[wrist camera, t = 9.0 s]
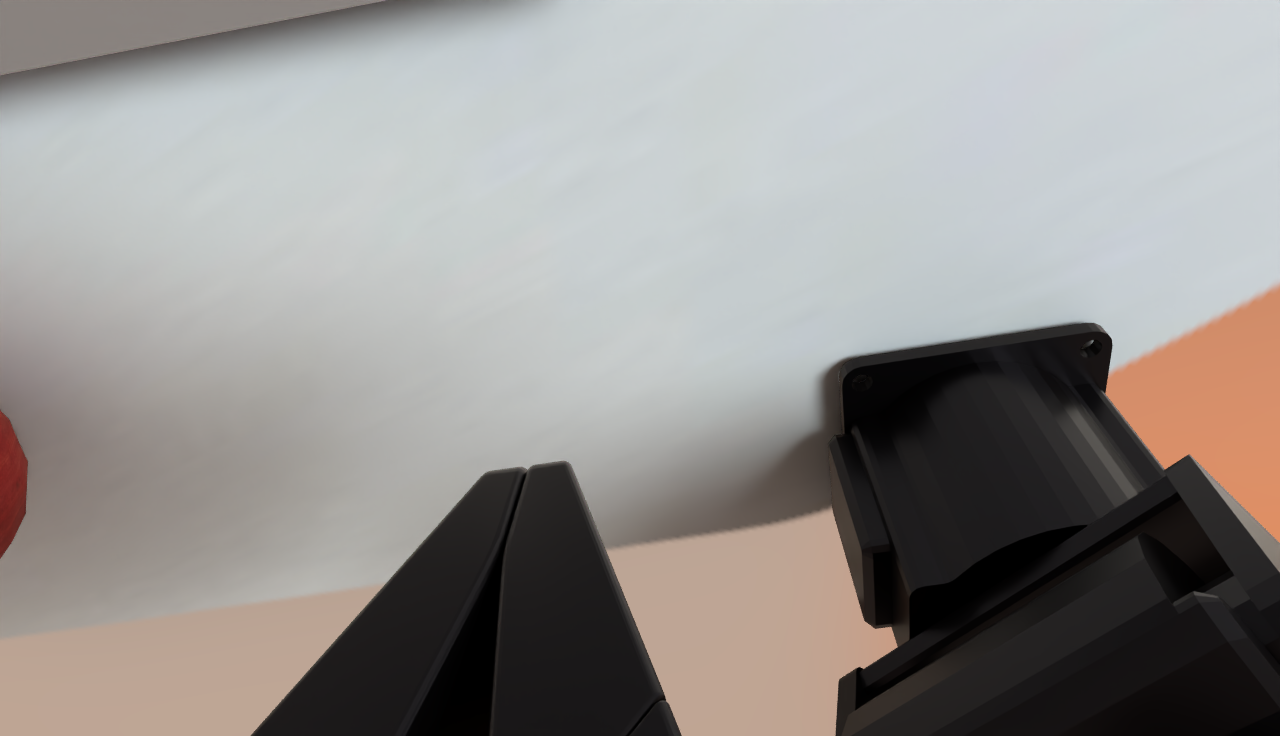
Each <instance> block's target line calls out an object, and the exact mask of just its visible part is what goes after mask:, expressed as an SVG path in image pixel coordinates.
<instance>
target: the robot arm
mask: <svg viewBox="0 0 1280 736" xmlns="http://www.w3.org/2000/svg"><path fill="white" fill-rule="evenodd" d="M1091 340H1094V341H1093V343H1092V344H1091V345H1090V346H1089V347H1087V348H1084V349H1081V347H1082V345H1084V344H1085V343H1086V342H1088V341H1091ZM1111 352H1112V339H1111V338H1110V336H1109V335H1108V334H1107V333H1106V331H1105V330H1104V329H1103V328H1102V327H1101V326H1100V325H1098V324H1095V323H1082V324H1075V325H1069V326H1062V327H1056V328H1049V329H1042V330H1036V331H1029V332H1023V333H1016V334H1010V335H1003V336H996V337H990V338H983V339H977V340H970V341H964V342H957V343H950V344H944V345H937V346H931V347H924V348H918V349H911V350H904V351H898V352H891V353H885V354H878V355H872V356H865V357H858V358H855V359H852V360H850V361H848V362H847V363H845V364H844V365H843V367H842V368H841V370H840V372H839V391H840V408H841V426H842V434H839V435H835V436H834V437H833V438H832V439H831V441H830V442H829V443H828V452H829V466H830V480H831V495H832V508H833V514H834V517H835V521H836V524H837V527H838V531H839V534H840V538H841V541H842V544H843V548H844V552H845V555H846V559H847V562H848V566H849V568H850V573H851V576H852V579H853V583H854V586H855V589H856V593H857V597H858V600H859V604H860V607H861V611H862V614H863V618H864V621H865V622H867V623H868V624H870V625H871V626H872V627H874V628H875V629H877V628H885V627H892V630H893V633H894V636H895V639H896V643H897V646H898V647H897V648H896V649H894V650H893V651H891V652H890V653H888V654H886V655H885V656H883V657H882V658H880V659H879V660H877V661H876V662H874V663H872V664H871V665H869V666H868V667H866V668H865V669H863V668H860V667H858V668H856V669H855V670H853V671H852V672H850V673H848V674H847V675H846V676H844V677H842V678H841V679H840V680H839V685H838V703H837V720H836V736H1280V543H1279V542H1278V541H1277V540H1276V539H1275V538H1274V537H1273V536H1272V535H1271V534H1270V533H1269V532H1268V531H1267V530H1266V529H1265V528H1264V527H1263V526H1262V525H1261V524H1260V523H1259V522H1258V521H1257V520H1255V518H1254V517H1253V516H1251V514H1250V513H1248V511H1246V510H1245V509H1244V508H1243V507H1242V506H1241V505H1240V504H1239V503H1238V502H1237V501H1236V500H1235V499H1234V498H1233V497H1232V496H1231V495H1230V494H1229V493H1228V492H1227V491H1226V490H1225V489H1224V488H1223V487H1222V486H1221V485H1220V484H1219V483H1218V482H1217V481H1216V480H1215V479H1214V478H1213V477H1212V476H1211V475H1210V474H1209V473H1208V472H1207V471H1206V470H1205V469H1204V468H1203V467H1202V466H1201V465H1200V464H1199V463H1198V462H1196V460H1195V459H1194V458H1193V457H1192V456H1190V455H1187V456H1186V457H1184V458H1182V459H1181V460H1179V461H1178V462H1176V463H1175V464H1173V465H1172V466H1170V467H1168V468H1167V469H1164V468H1163V467H1162V465H1161V464H1160V463H1159V462H1158V460H1157V459H1156V458H1155V457H1154V455H1153V454H1152V453H1151V452H1150V450H1149V449H1148V448H1147V446H1146V445H1145V444H1144V443H1143V442H1142V440H1141V439H1140V438H1139V436H1138V435H1137V434H1136V432H1135V431H1134V430H1133V429H1132V427H1131V426H1130V425H1129V424H1128V422H1127V421H1126V420H1125V419H1124V417H1123V416H1122V415H1121V414H1120V412H1119V411H1118V410H1117V408H1116V407H1115V406H1114V405H1113V403H1112V402H1111V401H1110V399H1109V398H1108V397H1107V396H1106V394H1105V392H1106V385H1107V379H1108V372H1109V365H1110V359H1111ZM859 375H868V377H867V378H866V379H865V380H864V381H861V382H853V380H854V379H855V378H856V377H857V376H859ZM251 736H681V733H680V730H679V728H678V725H677V723H676V721H675V718H674V716H673V713H672V711H671V708H670V706H669V704H668V703H667V702H666V699H665V695H664V692H663V690H662V687H661V685H660V682H659V680H658V677H657V675H656V673H655V670H654V668H653V665H652V663H651V660H650V658H649V655H648V653H647V650H646V648H645V645H644V643H643V641H642V638H641V636H640V633H639V631H638V628H637V626H636V624H635V621H634V618H633V616H632V614H631V611H630V609H629V606H628V604H627V601H626V599H625V596H624V594H623V592H622V589H621V586H620V584H619V582H618V579H617V577H616V574H615V572H614V569H613V567H612V564H611V562H610V559H609V557H608V554H607V552H606V550H605V547H604V545H603V542H602V540H601V537H600V535H599V532H598V530H597V527H596V525H595V522H594V520H593V518H592V515H591V513H590V510H589V508H588V505H587V503H586V500H585V498H584V495H583V493H582V491H581V488H580V486H579V483H578V481H577V478H576V476H575V473H574V471H573V468H572V466H571V464H570V463H569V462H566V461H559V462H552V463H545V464H538V465H533V466H531V467H530V468H529V469H528V470H527V469H525V468H523V467H516V468H509V469H501V470H494V471H489V472H487V473H485V474H484V475H483V476H481V477H480V479H479V480H478V481H477V482H476V483H475V484H474V485H473V486H472V488H471V489H470V490H469V491H468V492H467V493H466V494H465V495H464V497H463V498H462V499H461V500H460V501H459V502H458V503H457V504H456V506H455V507H454V508H453V509H452V510H451V511H450V512H449V513H448V515H447V516H446V517H445V518H444V519H443V520H442V521H441V522H440V523H439V525H438V526H437V527H436V528H435V529H434V530H433V531H432V532H431V534H430V535H429V536H428V537H427V538H426V539H425V540H424V541H423V543H422V544H421V545H420V546H419V547H418V548H417V549H416V550H415V552H414V553H413V554H412V555H411V556H410V557H409V558H408V559H407V561H406V562H405V563H404V564H403V565H402V566H401V567H400V568H399V570H398V571H397V572H396V573H395V574H394V575H393V576H392V577H391V579H390V580H389V581H388V582H387V583H386V584H385V585H384V586H383V588H382V589H381V590H380V591H379V592H378V593H377V594H376V596H375V597H374V598H373V599H372V600H371V601H370V602H369V603H368V604H367V606H366V607H365V608H364V609H363V610H362V611H361V612H360V613H359V615H358V616H357V617H356V618H355V619H354V620H353V621H352V622H351V624H350V625H349V626H348V627H347V628H346V629H345V630H344V631H343V632H342V634H341V635H340V636H339V637H338V638H337V639H336V640H335V642H334V643H333V644H332V645H331V646H330V647H329V648H328V649H327V650H326V652H325V653H324V654H323V655H322V656H321V657H320V658H319V659H318V661H317V662H316V663H315V664H314V665H313V666H312V667H311V668H310V670H309V671H308V672H307V673H306V674H305V675H304V676H303V677H302V679H301V680H300V681H299V682H298V683H297V684H296V685H295V687H294V688H293V689H292V690H291V691H290V692H289V693H288V694H287V695H286V697H285V698H284V699H283V700H282V701H281V702H280V703H279V704H278V706H277V707H276V708H275V709H274V710H273V711H272V712H271V713H270V715H269V716H268V717H267V718H266V719H265V720H264V721H263V722H262V724H261V725H260V726H259V727H258V728H257V729H256V730H255V731H254V733H253V734H252V735H251Z"/></svg>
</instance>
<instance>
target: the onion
mask: <svg viewBox="0 0 1280 736" xmlns="http://www.w3.org/2000/svg"><path fill="white" fill-rule="evenodd" d="M27 467H28V461H27V459H26V457H25V455H24V453H23V450H22V448H21V446H20V444H19V442H18V439H17V437H16V435H15V432H14V430H13V427H12V425H11V423H10V420H9V419H8V418H7V417H6V416H5V415H4V414H3V413H2V412H1V411H0V558H1V557H2V555H3V554H4V553H5V551H6V550H7V548H8V547H9V545H10V544H11V542H12V541H13V539H14V537H15V535H16V533H17V530H18V528H19V526H20V524H21V522H22V520H23V518H24V516H25V514H26V491H27Z"/></svg>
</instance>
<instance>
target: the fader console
mask: <svg viewBox="0 0 1280 736" xmlns="http://www.w3.org/2000/svg"><path fill="white" fill-rule="evenodd" d="M381 1H386V0H0V75H5V74H10V73H15V72H20V71H25V70H31V69H36V68H41V67H46V66H51V65H56V64H62V63H67V62H72V61H77V60H82V59H87V58H92V57H98V56H103V55H108V54H113V53H118V52H123V51H129V50H134V49H139V48H144V47H149V46H154V45H159V44H165V43H170V42H175V41H180V40H185V39H190V38H196V37H201V36H206V35H211V34H216V33H221V32H226V31H232V30H237V29H242V28H247V27H252V26H257V25H263V24H268V23H273V22H278V21H283V20H288V19H293V18H299V17H304V16H309V15H314V14H319V13H324V12H330V11H335V10H340V9H345V8H350V7H355V6H360V5H366V4H371V3H376V2H381Z"/></svg>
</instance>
